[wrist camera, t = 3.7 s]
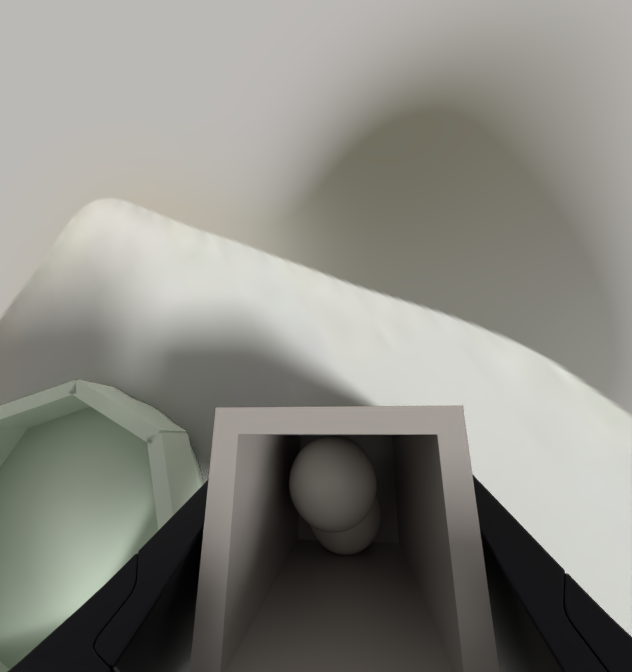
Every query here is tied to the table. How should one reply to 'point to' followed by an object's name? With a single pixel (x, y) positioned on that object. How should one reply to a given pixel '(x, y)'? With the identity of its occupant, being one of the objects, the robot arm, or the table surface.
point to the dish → (79, 500)
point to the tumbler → (342, 570)
